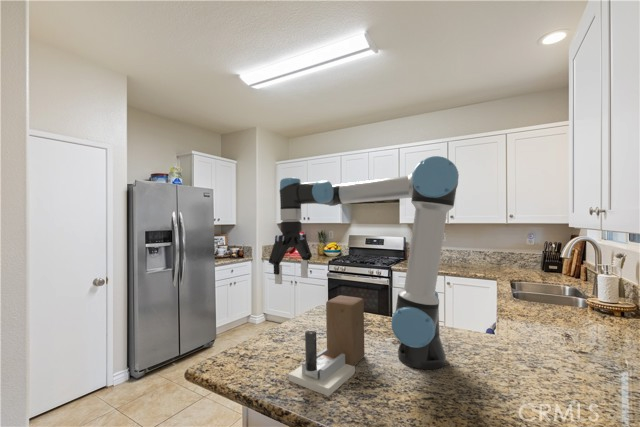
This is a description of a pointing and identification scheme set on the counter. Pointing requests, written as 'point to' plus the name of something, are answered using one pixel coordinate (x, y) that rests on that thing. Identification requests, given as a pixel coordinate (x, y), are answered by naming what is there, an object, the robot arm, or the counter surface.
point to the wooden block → (345, 328)
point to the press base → (324, 375)
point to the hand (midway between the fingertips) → (292, 280)
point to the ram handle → (313, 356)
